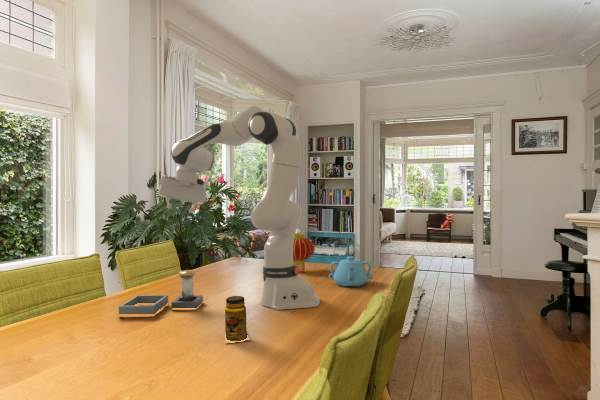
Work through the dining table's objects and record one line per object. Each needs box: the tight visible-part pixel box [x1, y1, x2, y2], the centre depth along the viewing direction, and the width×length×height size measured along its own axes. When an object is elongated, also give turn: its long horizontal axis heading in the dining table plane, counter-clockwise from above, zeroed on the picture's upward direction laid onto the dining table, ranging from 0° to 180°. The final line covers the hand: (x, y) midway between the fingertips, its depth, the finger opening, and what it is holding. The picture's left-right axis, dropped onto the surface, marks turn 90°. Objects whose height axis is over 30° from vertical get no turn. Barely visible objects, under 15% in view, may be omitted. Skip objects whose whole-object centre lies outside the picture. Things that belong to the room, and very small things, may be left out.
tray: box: [118, 294, 169, 315], centre depth 139 cm, size 12×14×4 cm
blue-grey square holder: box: [170, 294, 204, 309], centre depth 144 cm, size 9×9×3 cm
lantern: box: [293, 232, 316, 274], centre depth 202 cm, size 17×17×30 cm
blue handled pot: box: [328, 255, 373, 288], centre depth 172 cm, size 20×20×13 cm
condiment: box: [224, 295, 249, 341], centre depth 112 cm, size 7×8×12 cm
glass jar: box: [178, 269, 196, 301], centre depth 144 cm, size 6×6×13 cm
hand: (180, 210), depth 166 cm, fingers open, 8 cm apart
